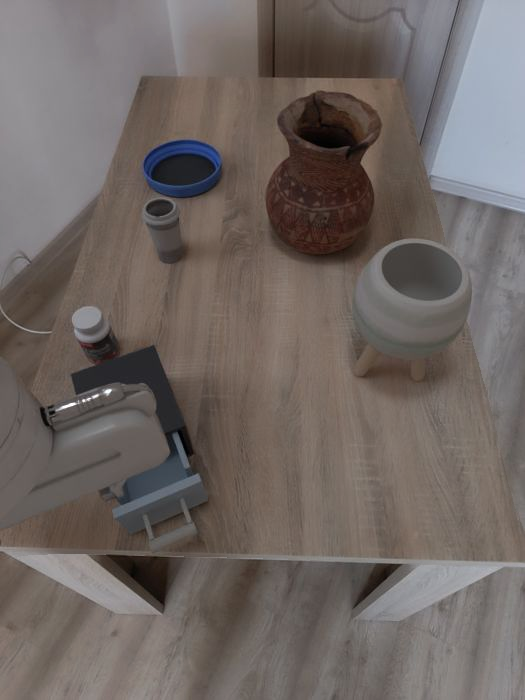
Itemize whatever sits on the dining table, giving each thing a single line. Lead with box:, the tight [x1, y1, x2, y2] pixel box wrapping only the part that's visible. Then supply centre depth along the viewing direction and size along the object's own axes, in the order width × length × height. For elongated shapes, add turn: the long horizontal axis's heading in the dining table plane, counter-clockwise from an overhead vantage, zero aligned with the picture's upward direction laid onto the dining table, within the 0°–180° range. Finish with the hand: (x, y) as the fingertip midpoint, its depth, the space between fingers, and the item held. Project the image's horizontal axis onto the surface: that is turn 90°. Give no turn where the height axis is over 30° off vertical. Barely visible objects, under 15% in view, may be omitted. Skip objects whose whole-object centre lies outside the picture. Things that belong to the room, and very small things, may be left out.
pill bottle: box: [71, 305, 120, 365], centre depth 79 cm, size 6×6×10 cm
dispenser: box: [70, 344, 196, 458], centre depth 71 cm, size 15×13×10 cm
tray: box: [111, 431, 209, 555], centre depth 65 cm, size 18×11×8 cm, turn 24°
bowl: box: [142, 138, 223, 198], centre depth 110 cm, size 18×18×4 cm
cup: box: [141, 196, 183, 264], centre depth 91 cm, size 7×7×12 cm
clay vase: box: [265, 90, 383, 255], centre depth 90 cm, size 22×21×25 cm
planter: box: [351, 238, 473, 382], centre depth 72 cm, size 16×16×22 cm
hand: (53, 514), depth 37 cm, fingers open, 8 cm apart
